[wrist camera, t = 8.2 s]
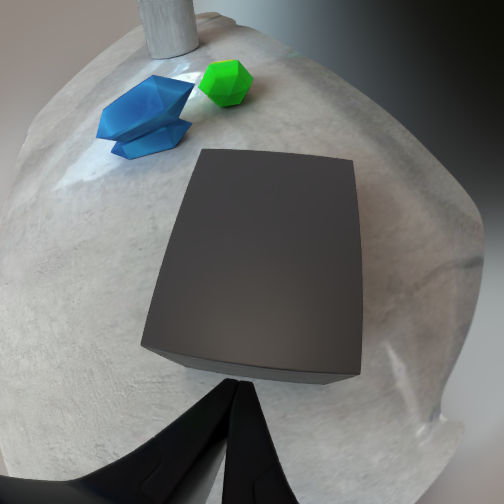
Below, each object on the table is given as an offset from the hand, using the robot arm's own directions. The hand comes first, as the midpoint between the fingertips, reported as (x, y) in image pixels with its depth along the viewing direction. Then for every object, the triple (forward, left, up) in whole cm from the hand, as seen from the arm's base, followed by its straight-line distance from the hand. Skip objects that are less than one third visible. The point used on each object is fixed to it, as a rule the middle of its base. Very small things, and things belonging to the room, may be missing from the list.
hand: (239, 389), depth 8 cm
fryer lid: (+4, -6, -3) cm, 8 cm away
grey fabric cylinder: (+47, -35, -10) cm, 59 cm away
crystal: (+23, -12, -10) cm, 28 cm away
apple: (+23, -24, -10) cm, 35 cm away
